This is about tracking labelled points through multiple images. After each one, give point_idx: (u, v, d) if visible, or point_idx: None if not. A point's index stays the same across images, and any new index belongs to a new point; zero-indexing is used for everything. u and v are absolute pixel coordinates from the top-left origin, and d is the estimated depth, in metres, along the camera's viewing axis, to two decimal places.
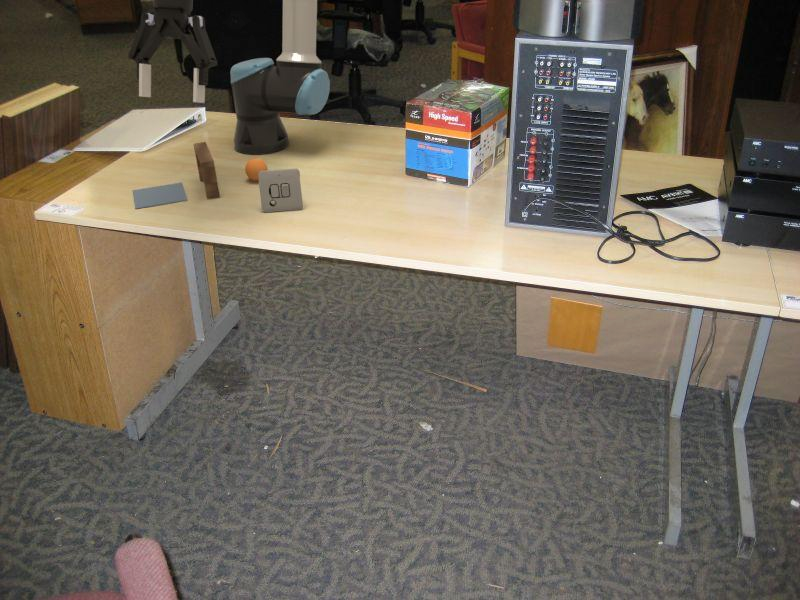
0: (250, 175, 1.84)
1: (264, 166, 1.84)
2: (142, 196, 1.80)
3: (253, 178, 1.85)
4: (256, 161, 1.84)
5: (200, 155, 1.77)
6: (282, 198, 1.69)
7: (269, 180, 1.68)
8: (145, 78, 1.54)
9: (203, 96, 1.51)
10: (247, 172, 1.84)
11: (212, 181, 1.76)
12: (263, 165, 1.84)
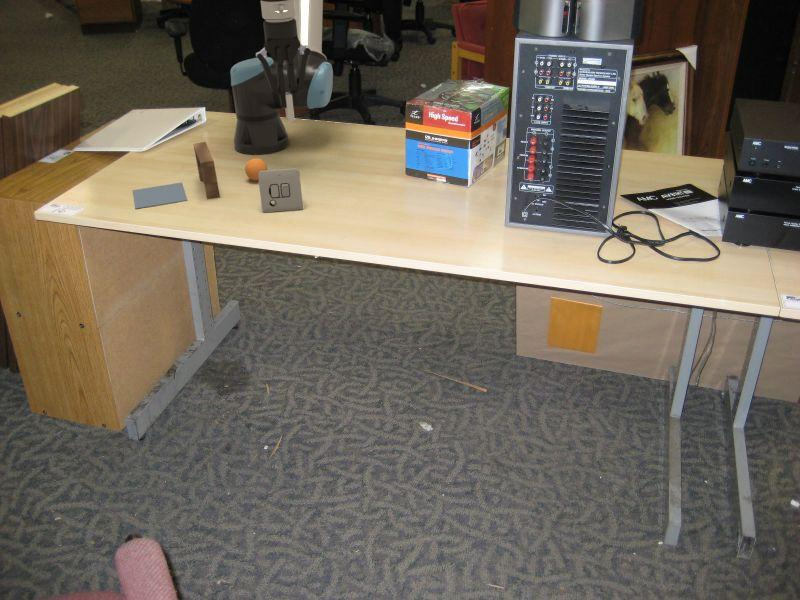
0: (250, 175, 1.84)
1: (264, 166, 1.84)
2: (142, 196, 1.80)
3: (253, 178, 1.85)
4: (256, 161, 1.84)
5: (200, 155, 1.77)
6: (282, 198, 1.69)
7: (269, 180, 1.68)
8: None
9: None
10: (247, 172, 1.84)
11: (212, 181, 1.76)
12: (263, 165, 1.84)
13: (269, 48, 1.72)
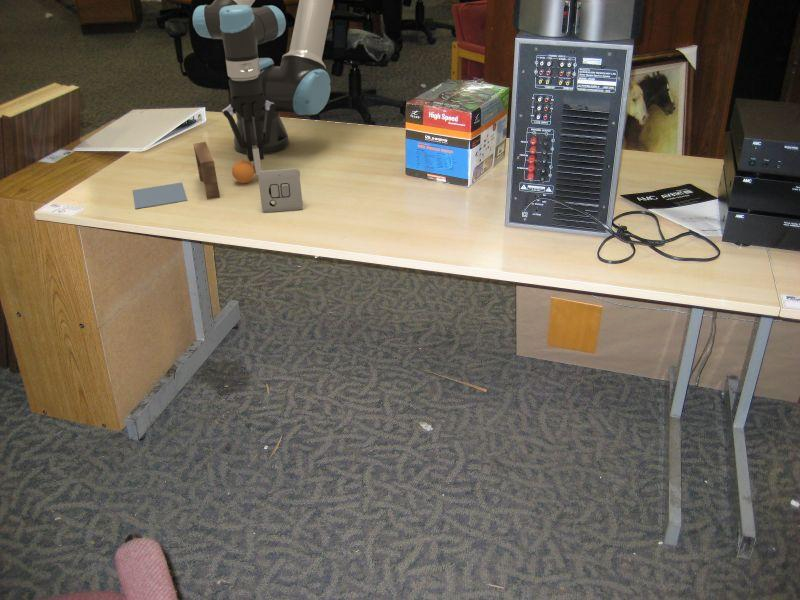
0: (242, 181, 1.84)
1: (245, 166, 1.82)
2: (142, 196, 1.80)
3: (247, 181, 1.84)
4: (236, 168, 1.82)
5: (200, 155, 1.77)
6: (282, 198, 1.69)
7: (269, 180, 1.68)
8: None
9: None
10: (238, 181, 1.84)
11: (212, 181, 1.76)
12: (243, 166, 1.82)
13: (235, 105, 1.75)
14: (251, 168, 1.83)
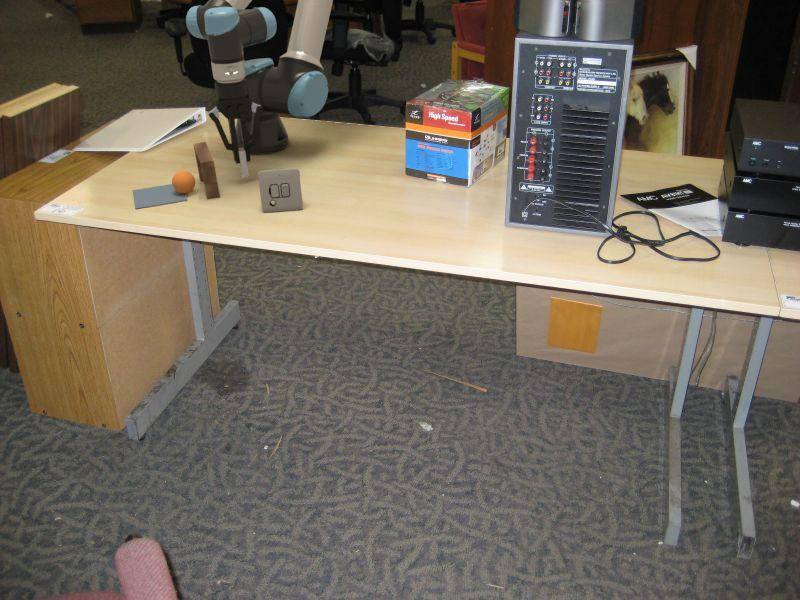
0: (176, 187, 1.78)
1: (192, 180, 1.79)
2: (142, 196, 1.80)
3: (179, 191, 1.79)
4: (184, 174, 1.78)
5: (200, 155, 1.77)
6: (282, 198, 1.69)
7: (269, 180, 1.68)
8: None
9: None
10: (173, 184, 1.78)
11: (212, 181, 1.76)
12: (191, 179, 1.79)
13: (221, 107, 1.75)
14: (193, 186, 1.80)
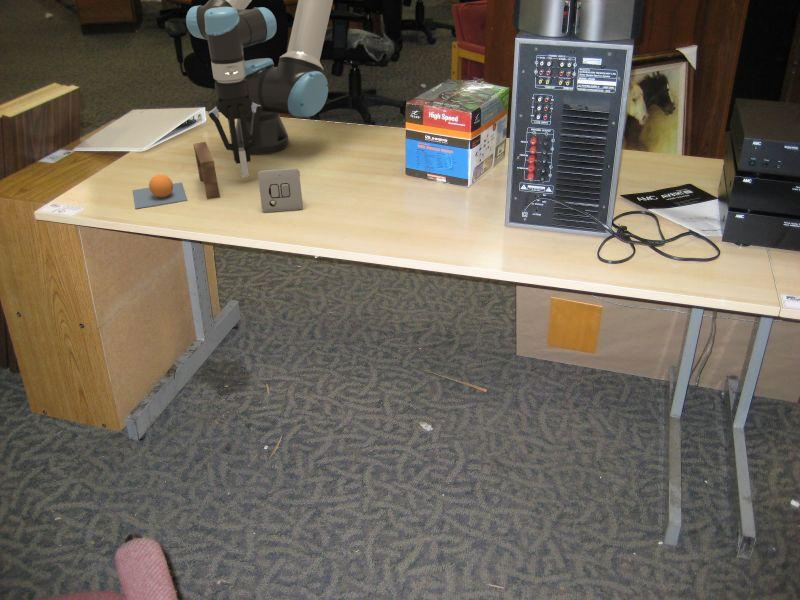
0: (168, 194, 1.78)
1: (154, 184, 1.76)
2: (142, 196, 1.80)
3: (170, 191, 1.78)
4: (152, 192, 1.77)
5: (200, 155, 1.77)
6: (282, 198, 1.69)
7: (269, 180, 1.68)
8: None
9: None
10: (166, 196, 1.79)
11: (212, 181, 1.76)
12: (153, 185, 1.76)
13: (221, 107, 1.75)
14: (160, 180, 1.76)
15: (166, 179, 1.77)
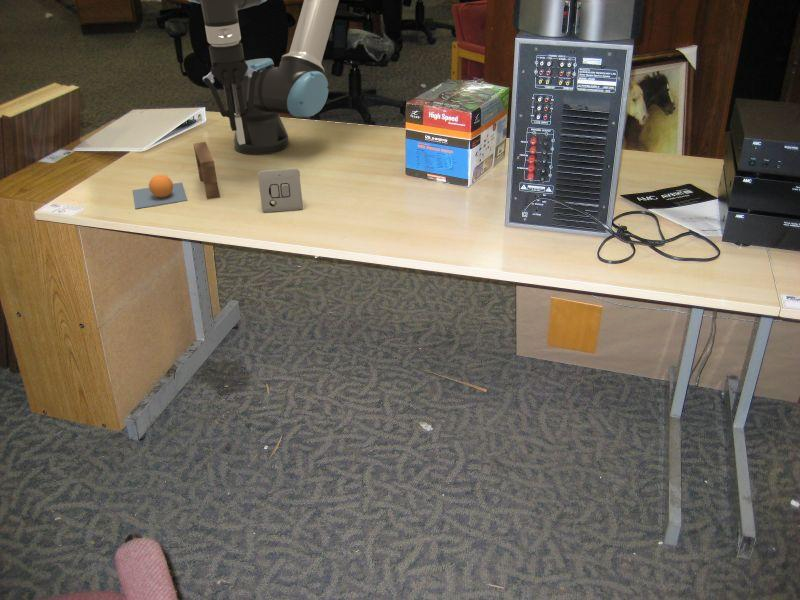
0: (168, 194, 1.78)
1: (154, 184, 1.76)
2: (142, 196, 1.80)
3: (170, 191, 1.78)
4: (152, 192, 1.77)
5: (200, 155, 1.77)
6: (282, 198, 1.69)
7: (269, 180, 1.68)
8: None
9: None
10: (166, 196, 1.79)
11: (212, 181, 1.76)
12: (153, 185, 1.76)
13: (215, 72, 1.70)
14: (160, 180, 1.76)
15: (166, 179, 1.77)
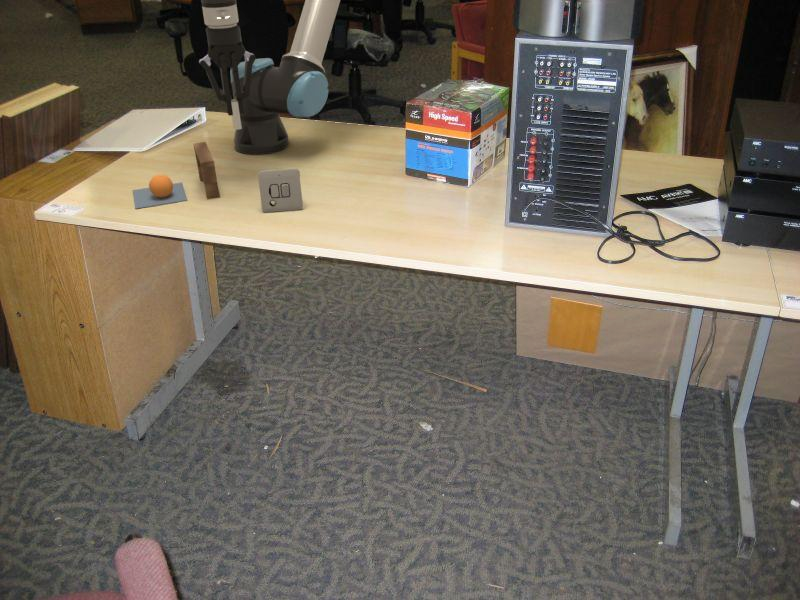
0: (168, 194, 1.78)
1: (154, 184, 1.76)
2: (142, 196, 1.80)
3: (170, 191, 1.78)
4: (152, 192, 1.77)
5: (200, 155, 1.77)
6: (282, 198, 1.69)
7: (269, 180, 1.68)
8: None
9: None
10: (166, 196, 1.79)
11: (212, 181, 1.76)
12: (153, 185, 1.76)
13: (212, 55, 1.68)
14: (160, 180, 1.76)
15: (166, 179, 1.77)
